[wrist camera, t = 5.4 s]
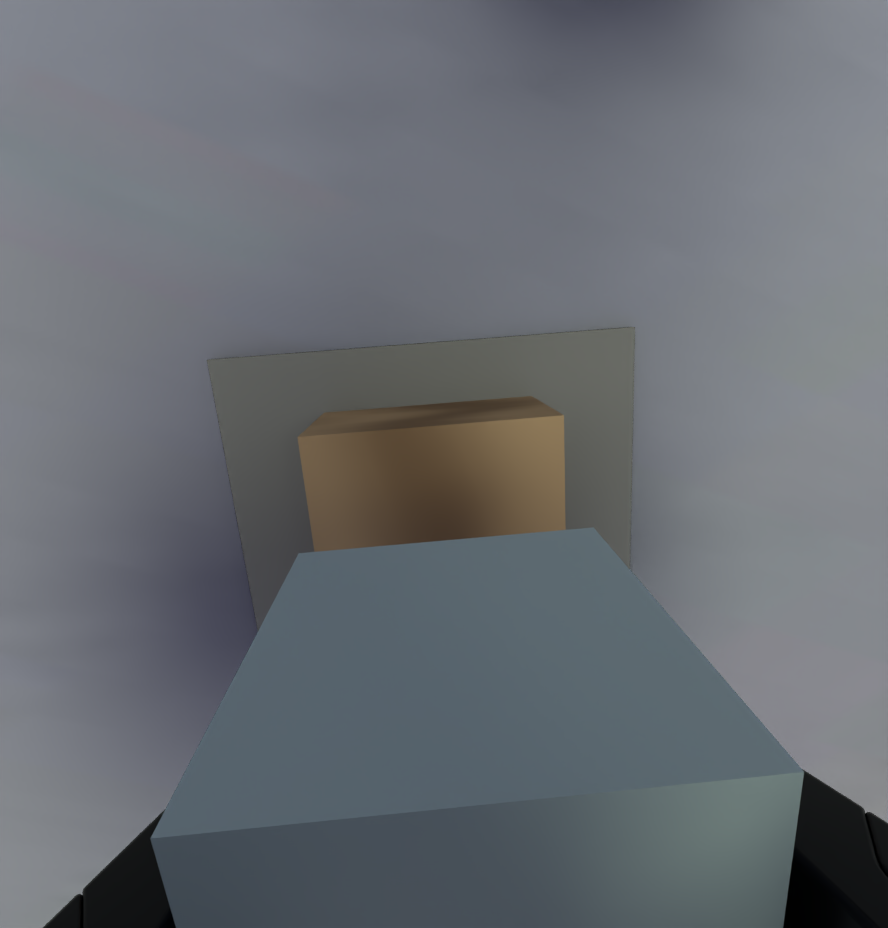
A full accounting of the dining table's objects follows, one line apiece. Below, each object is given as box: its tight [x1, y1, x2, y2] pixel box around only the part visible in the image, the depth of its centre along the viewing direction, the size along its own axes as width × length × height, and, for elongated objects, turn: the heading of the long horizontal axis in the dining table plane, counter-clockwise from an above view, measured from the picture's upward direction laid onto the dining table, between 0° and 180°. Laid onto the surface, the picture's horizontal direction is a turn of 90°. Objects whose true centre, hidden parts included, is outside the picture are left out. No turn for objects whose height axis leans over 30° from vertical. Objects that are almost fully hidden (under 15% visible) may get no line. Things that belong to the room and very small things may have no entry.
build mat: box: [207, 327, 635, 631], centre depth 19 cm, size 14×12×1 cm
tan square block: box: [297, 396, 566, 552], centre depth 16 cm, size 7×7×4 cm
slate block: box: [150, 527, 804, 928], centre depth 7 cm, size 5×5×5 cm
